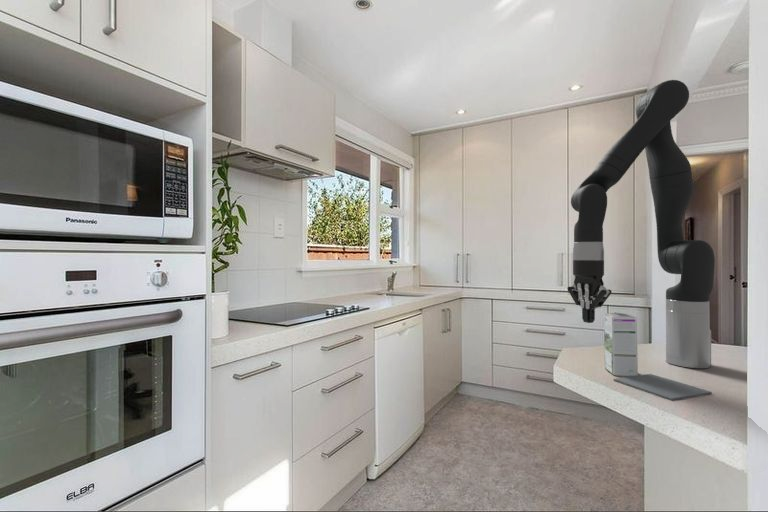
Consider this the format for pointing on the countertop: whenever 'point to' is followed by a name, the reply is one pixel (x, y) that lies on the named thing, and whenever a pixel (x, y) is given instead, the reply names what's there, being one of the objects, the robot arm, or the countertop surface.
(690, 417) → the countertop surface
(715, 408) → the countertop surface
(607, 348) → the syrup box
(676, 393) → the mat
